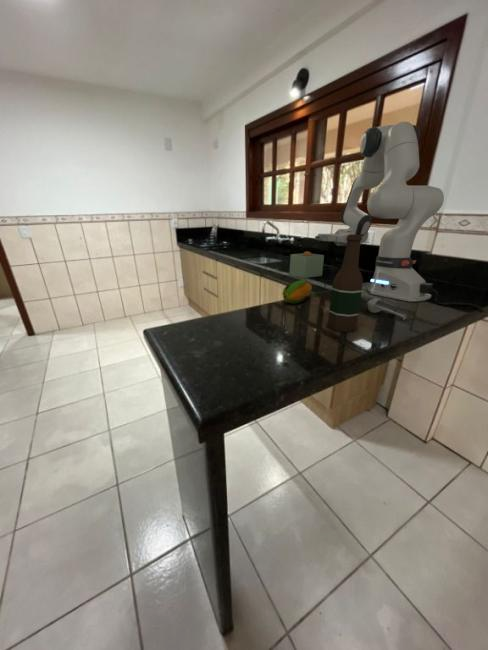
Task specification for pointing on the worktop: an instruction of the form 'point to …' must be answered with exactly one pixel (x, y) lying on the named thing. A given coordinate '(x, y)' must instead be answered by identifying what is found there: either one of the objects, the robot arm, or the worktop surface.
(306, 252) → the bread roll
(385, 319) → the worktop surface
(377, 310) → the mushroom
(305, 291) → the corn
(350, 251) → the beer bottle
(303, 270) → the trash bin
